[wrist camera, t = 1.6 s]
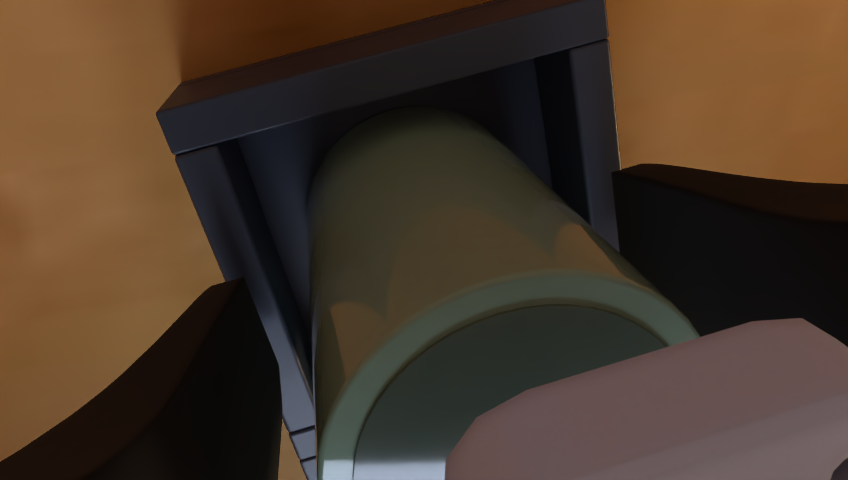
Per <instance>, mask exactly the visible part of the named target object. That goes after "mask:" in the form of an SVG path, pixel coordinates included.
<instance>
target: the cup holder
mask: <svg viewBox="0 0 848 480" xmlns="http://www.w3.org/2000/svg"><path fill="white" fill-rule="evenodd" d="M608 36H609V33H608V23H607V12H606V2H605V0H494V1H491V2H487V3H483V4H479V5H475V6H471V7H468V8H464V9H460V10H456V11H452V12H449V13H445V14H441V15H437V16H433V17H430V18H426V19H422V20H418V21H414V22H410V23H407V24H403V25H399V26H395V27H391V28H388V29H384V30H380V31H376V32H372V33H369V34H365V35H361V36H357V37H353V38H349V39H346V40H342V41H338V42H334V43H330V44H327V45H323V46H319V47H315V48H311V49H308V50H304V51H300V52H296V53H292V54H289V55H285V56H281V57H277V58H273V59H269V60H266V61H262V62H258V63H254V64H250V65H247V66H243V67H239V68H235V69H231V70H228V71H224V72H220V73H216V74H212V75H208V76H205V77H201V78H197V79H193V80H189V81H186V82H182V83H181V84H180V85H179V86H178V87H177V88H176V89H175V91H174V92H173V93H172V94H171V95H170V96H169V98H168V99H167V100H166V101H165V102H164V104H163V105H162V106H161V107H160V108H159V110H158V111H157V112H156V116H157V119H158V121H159V124H160V126H161V128H162V131H163V133H164V136H165V138H166V140H167V143H168V145H169V148H170V150H171V152H172V153H173V154H175V155H176V156H175V161H176V163H177V166H178V168H179V171H180V173H181V175H182V178H183V180H184V183H185V185H186V187H187V190H188V192H189V195H190V197H191V200H192V202H193V204H194V207H195V209H196V212H197V214H198V216H199V219H200V221H201V224H202V226H203V228H204V231H205V233H206V236H207V238H208V241H209V243H210V245H211V248H212V250H213V253H214V255H215V257H216V260H217V262H218V265H219V267H220V270H221V272H222V274H223V277H224V279H225V282H227V281H231V280H234V279H238V278H241V277H244V278H245V281H246V284H247V286H248V289H249V291H250V294H251V296H252V299H253V301H254V304H255V306H256V309H257V311H258V314H259V316H260V319H261V321H262V324H263V326H264V329H265V331H266V334H267V336H268V339H269V341H270V344H271V346H272V349H273V351H274V354H275V356H276V359H277V361H278V364H279V370H280V381H281V393H282V408H283V410H282V419H283V422H284V424H285V426H286V429H287V430H288V431H289V437H290V439H291V442H292V444H293V446H294V449H295V451H296V454H297V456H298V458H299V459H300V464H301V466H302V468H303V471H304V473H305V476H306V478H307V480H317V470H316V446H315V422H314V397H313V373H312V348H311V324H310V299H309V275H308V250H307V226H306V209H307V200H308V194H309V190H310V187H311V184H312V180H313V177H314V175H315V173H316V171H317V169H318V167H319V165H320V163H321V162H322V160H323V159H324V157H325V156H326V154H327V153H328V151H329V150H330V149H331V148H332V147H333V146H334V145H335V143H336V142H337V141H338V140H339V139H340V138H341V137H343V136H344V135H345V134H346V133H347V132H348V131H349V130H351V129H352V128H354V127H355V126H357V125H358V124H360V123H361V122H363V121H365V120H367V119H369V118H371V117H373V116H375V115H378V114H381V113H384V112H386V111H389V110H393V109H398V108H403V107H412V106H430V107H439V108H444V109H449V110H453V111H455V112H458V113H461V114H464V115H466V116H468V117H470V118H472V119H474V120H476V121H478V122H479V123H480V124H482V125H483V126H485V127H486V128H487V129H489V130H490V131H491V132H492V133H493V134H494V135H495V136H496V137H497V138H498V139H499V140H500V141H501V142H502V143H503V144H505V145H506V146H507V147H508V148H509V149H510V150H511V151H512V152H513V153H514V154H515V155H516V156H517V157H518V158H519V159H520V160H522V161H523V162H524V163H525V164H526V165H527V166H528V167H529V168H530V169H531V170H532V171H533V172H534V173H535V174H536V175H537V176H538V177H540V178H541V179H542V180H543V181H544V182H545V183H546V184H547V185H548V186H549V187H550V188H551V189H552V190H553V191H554V192H555V193H556V194H558V195H559V196H560V197H561V198H562V199H563V200H564V201H565V202H566V203H567V204H568V205H569V206H570V207H571V208H572V209H573V210H574V211H576V212H577V213H578V214H579V215H580V216H581V217H582V218H583V219H584V220H585V221H586V222H587V223H588V224H589V225H590V226H591V227H592V228H594V229H595V230H596V231H597V232H598V233H599V234H600V235H601V236H602V237H603V238H604V239H605V240H606V241H607V242H608V243H609V244H610V245H612V246H613V247H614V248H615V249H616V250H617V251H618V252H619V253H620V251H619V241H618V232H617V222H616V212H615V203H614V193H613V184H612V174H611V172H614V171H618V170H621V160H620V149H619V139H618V129H617V118H616V108H615V98H614V87H613V77H612V67H611V57H610V46H609V41H608V39H606V38H608Z"/></svg>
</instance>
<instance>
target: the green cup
mask: <svg viewBox="0 0 848 480" xmlns="http://www.w3.org/2000/svg"><path fill="white" fill-rule="evenodd" d="M306 226H307V250H308V275H309V299H310V324H311V348H312V373H313V397H314V422H315V446H316V470H317V480H445V465H446V458H447V457H448V455H449V454H450V453H451V451H452V450H453V449H454V447H455V446H456V445H457V443H458V442H459V440H460V439H461V438H462V436H463V435H464V434H465V432H466V431H467V430H468V428H469V427H470V425H471V424H472V423H473V421H474V420H475V419H476V417H478V416H480V415H482V414H484V413H485V412H487V411H489V410H491V409H493V408H495V407H496V406H498V405H500V404H502V403H504V402H506V401H507V400H509V399H511V398H513V397H515V396H516V395H518V394H520V393H522V392H524V391H526V390H528V389H531V388H535V387H538V386H541V385H545V384H548V383H551V382H554V381H558V380H561V379H564V378H568V377H571V376H574V375H577V374H581V373H584V372H587V371H590V370H594V369H597V368H600V367H604V366H607V365H610V364H613V363H617V362H620V361H623V360H627V359H630V358H633V357H636V356H640V355H643V354H646V353H650V352H653V351H656V350H659V349H663V348H666V347H669V346H673V345H676V344H679V343H682V342H686V341H689V340H692V339H696V338H699V337H701V335H700V333H699V332H698V331H697V329H696V328H695V327H694V325H693V324H692V323H691V321H690V320H689V319H688V317H687V316H686V315H685V314H683V313H682V312H681V311H680V310H679V309H678V308H677V307H676V306H675V305H674V304H673V303H672V302H671V301H670V300H669V299H668V298H667V297H666V296H664V295H663V294H662V293H661V292H660V291H659V290H658V289H657V288H656V287H655V286H654V285H653V284H652V283H651V282H650V281H649V280H648V279H646V278H645V277H644V276H643V275H642V274H641V273H640V272H639V271H638V270H637V269H636V268H635V267H634V266H633V265H632V264H631V263H630V262H628V261H627V260H626V259H625V258H624V257H623V256H622V255H621V254H620V253H619V252H618V251H617V250H616V249H615V248H614V247H613V246H612V245H610V244H609V243H608V242H607V241H606V240H605V239H604V238H603V237H602V236H601V235H600V234H599V233H598V232H597V231H596V230H595V229H594V228H592V227H591V226H590V225H589V224H588V223H587V222H586V221H585V220H584V219H583V218H582V217H581V216H580V215H579V214H578V213H577V212H576V211H574V210H573V209H572V208H571V207H570V206H569V205H568V204H567V203H566V202H565V201H564V200H563V199H562V198H561V197H560V196H559V195H558V194H556V193H555V192H554V191H553V190H552V189H551V188H550V187H549V186H548V185H547V184H546V183H545V182H544V181H543V180H542V179H541V178H540V177H538V176H537V175H536V174H535V173H534V172H533V171H532V170H531V169H530V168H529V167H528V166H527V165H526V164H525V163H524V162H523V161H522V160H520V159H519V158H518V157H517V156H516V155H515V154H514V153H513V152H512V151H511V150H510V149H509V148H508V147H507V146H506V145H505V144H503V143H502V142H501V141H500V140H499V139H498V138H497V137H496V136H495V135H494V134H493V133H492V132H491V131H490V130H489V129H487V128H486V127H485V126H483V125H482V124H480V123H479V122H478V121H476V120H474V119H472V118H470V117H468V116H466V115H464V114H461V113H458V112H455V111H453V110H449V109H444V108H439V107H430V106H412V107H403V108H398V109H393V110H389V111H386V112H384V113H381V114H378V115H375V116H373V117H371V118H369V119H367V120H365V121H363V122H361V123H360V124H358V125H357V126H355V127H354V128H352V129H351V130H349V131H348V132H347V133H346V134H345V135H344V136H343V137H341V138H340V139H339V140H338V141H337V142H336V143H335V145H334V146H333V147H332V148H331V149H330V150H329V151H328V153H327V154H326V156H325V157H324V159H323V160H322V162H321V163H320V165H319V167H318V169H317V171H316V173H315V175H314V177H313V180H312V184H311V187H310V190H309V194H308V200H307V209H306Z"/></svg>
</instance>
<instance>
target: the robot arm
mask: <svg viewBox="0 0 848 480" xmlns="http://www.w3.org/2000/svg"><path fill="white" fill-rule="evenodd" d="M611 174H612V184H613V193H614V203H615V212H616V222H617V232H618V241H619V251H620V254H621V255H622V256H623V257H624V258H625V259H626V260H627V261H628V262H630V263H631V264H632V265H633V266H634V267H635V268H636V269H637V270H638V271H639V272H640V273H641V274H642V275H643V276H644V277H645V278H646V279H648V280H649V281H650V282H651V283H652V284H653V285H654V286H655V287H656V288H657V289H658V290H659V291H660V292H661V293H662V294H663V295H664V296H666V297H667V298H668V299H669V300H670V301H671V302H672V303H673V304H674V305H675V306H676V307H677V308H678V309H679V310H680V311H681V312H682V313H683V314H685V315H686V316H687V317H688V319H689V320H690V321H691V323H692V324H693V325H694V327H695V328H696V329H697V331H698V332H699V333H700V335H701V337H699V338H696V339H692V340H689V341H686V342H682V343H679V344H676V345H673V346H669V347H666V348H663V349H659V350H656V351H653V352H650V353H646V354H643V355H640V356H636V357H633V358H630V359H627V360H623V361H620V362H617V363H613V364H610V365H607V366H604V367H600V368H597V369H594V370H590V371H587V372H584V373H581V374H577V375H574V376H571V377H568V378H564V379H561V380H558V381H554V382H551V383H548V384H545V385H541V386H538V387H535V388H531V389H528V390H526V391H524V392H522V393H520V394H518V395H516V396H515V397H513V398H511V399H509V400H507V401H506V402H504V403H502V404H500V405H498V406H496V407H495V408H493V409H491V410H489V411H487V412H485V413H484V414H482V415H480V416H478V417H476V419H475V420H474V421H473V423H472V424H471V425H470V427H469V428H468V430H467V431H466V432H465V434H464V435H463V436H462V438H461V439H460V440H459V442H458V443H457V445H456V446H455V447H454V449H453V450H452V451H451V453H450V454H449V455H448V457H447V458H446V465H445V480H848V184H827V183H807V182H793V181H784V180H774V179H764V178H756V177H748V176H741V175H733V174H727V173H720V172H713V171H707V170H700V169H693V168H687V167H680V166H672V165H663V164H639V165H636V166H632V167H629V168H625V169H621V170H618V171H614V172H611ZM282 410H283V408H282V393H281V381H280V370H279V364H278V361H277V359H276V356H275V354H274V351H273V349H272V346H271V344H270V341H269V339H268V336H267V334H266V331H265V329H264V326H263V324H262V321H261V319H260V316H259V314H258V311H257V309H256V306H255V304H254V301H253V299H252V296H251V294H250V291H249V289H248V286H247V284H246V281H245V278H244V277H241V278H238V279H234V280H231V281H227V282H224V283H220V284H217V285H213V286H211V287H210V288H208V289H207V290H206V291H205V292H203V293H202V294H201V295H200V296H199V297H198V298H197V299H196V300H195V301H194V302H193V303H192V304H191V305H190V306H189V308H188V309H187V310H186V311H185V312H184V313H183V314H182V315H181V316H180V317H179V318H178V319H177V320H176V321H175V322H174V323H173V324H172V325H171V327H170V328H169V329H168V330H167V331H166V332H165V333H164V334H163V335H162V336H161V337H160V338H159V339H158V340H157V341H156V342H155V343H154V344H153V345H152V346H151V347H150V348H149V349H148V350H147V351H146V352H145V353H144V354H143V355H142V356H141V357H139V358H138V359H137V360H136V361H135V362H134V363H133V364H132V365H131V366H130V367H129V368H128V369H127V370H126V371H125V372H124V373H123V374H122V375H120V376H119V377H118V378H117V379H116V380H115V381H114V382H112V383H111V384H110V385H109V386H108V387H107V388H105V389H104V390H103V391H102V392H101V393H99V394H98V395H97V396H95V397H94V398H93V399H92V400H90V401H89V402H88V403H87V404H85V405H84V406H83V407H81V408H80V409H79V410H78V411H76V412H75V413H74V414H72V415H71V416H69V417H68V418H67V419H65V420H64V421H62V422H61V423H59V424H58V425H56V426H55V427H53V428H52V429H50V430H49V431H47V432H46V433H44V434H43V435H41V436H40V437H38V438H37V439H36V440H34V441H33V442H31V443H30V444H28V445H27V446H25V447H24V448H22V449H21V450H19V451H17V452H16V453H14V454H13V455H11V456H9V457H8V458H6V459H4V460H3V461H1V462H0V480H278V468H279V455H280V441H281V427H282Z"/></svg>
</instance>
